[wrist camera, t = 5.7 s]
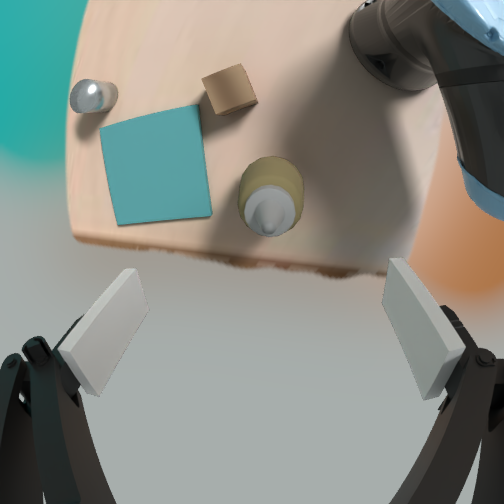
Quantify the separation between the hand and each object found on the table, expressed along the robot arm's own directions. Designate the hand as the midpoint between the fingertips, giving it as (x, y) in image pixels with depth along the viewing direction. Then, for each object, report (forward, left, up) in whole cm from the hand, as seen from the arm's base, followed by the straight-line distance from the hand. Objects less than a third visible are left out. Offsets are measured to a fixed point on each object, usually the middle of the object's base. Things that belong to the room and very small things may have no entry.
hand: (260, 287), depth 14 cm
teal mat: (+17, -4, -27) cm, 32 cm away
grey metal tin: (+24, -17, -27) cm, 40 cm away
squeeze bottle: (0, 0, -27) cm, 27 cm away
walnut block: (+4, -13, -27) cm, 30 cm away
